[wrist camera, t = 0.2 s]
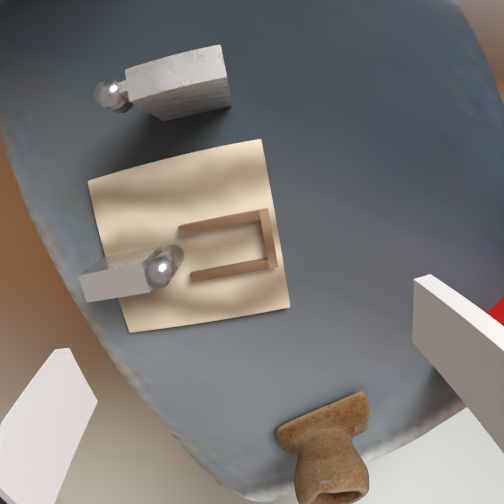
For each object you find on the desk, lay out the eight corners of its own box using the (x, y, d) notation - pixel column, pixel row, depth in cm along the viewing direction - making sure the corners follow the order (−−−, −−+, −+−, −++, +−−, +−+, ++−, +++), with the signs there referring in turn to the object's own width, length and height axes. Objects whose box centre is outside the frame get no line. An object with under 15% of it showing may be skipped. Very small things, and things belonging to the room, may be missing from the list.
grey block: (135, 105, 33) (92, 81, 22) (227, 82, 33) (220, 44, 21) (139, 128, 34) (95, 113, 22) (232, 106, 34) (226, 76, 22)
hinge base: (91, 180, 35) (83, 181, 33) (260, 139, 35) (261, 137, 33) (132, 329, 40) (127, 337, 38) (289, 304, 40) (291, 311, 38)
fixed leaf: (105, 256, 37) (77, 275, 29) (181, 240, 36) (166, 258, 29) (112, 279, 37) (86, 302, 30) (187, 265, 37) (174, 288, 30)
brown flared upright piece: (294, 458, 47) (306, 526, 33) (267, 420, 45) (274, 497, 30) (375, 425, 46) (405, 489, 32) (359, 382, 43) (394, 452, 29)
